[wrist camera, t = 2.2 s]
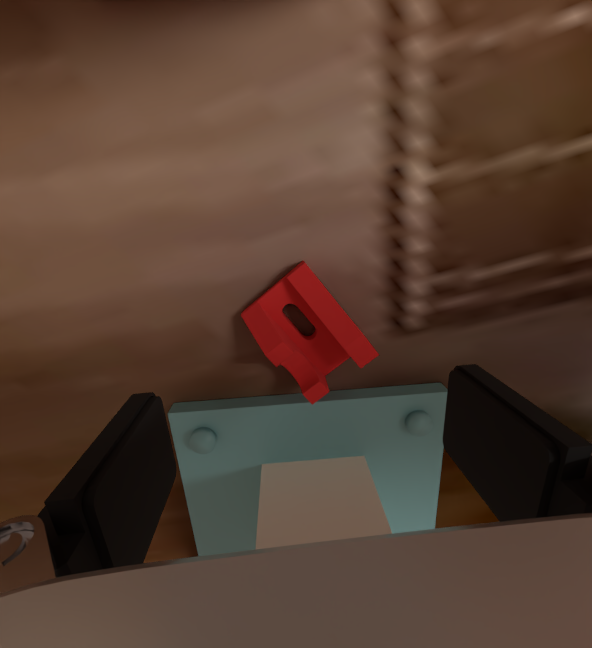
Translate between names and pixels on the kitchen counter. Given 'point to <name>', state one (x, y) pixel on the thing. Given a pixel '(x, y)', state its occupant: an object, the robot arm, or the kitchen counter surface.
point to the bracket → (297, 349)
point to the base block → (318, 502)
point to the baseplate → (307, 453)
